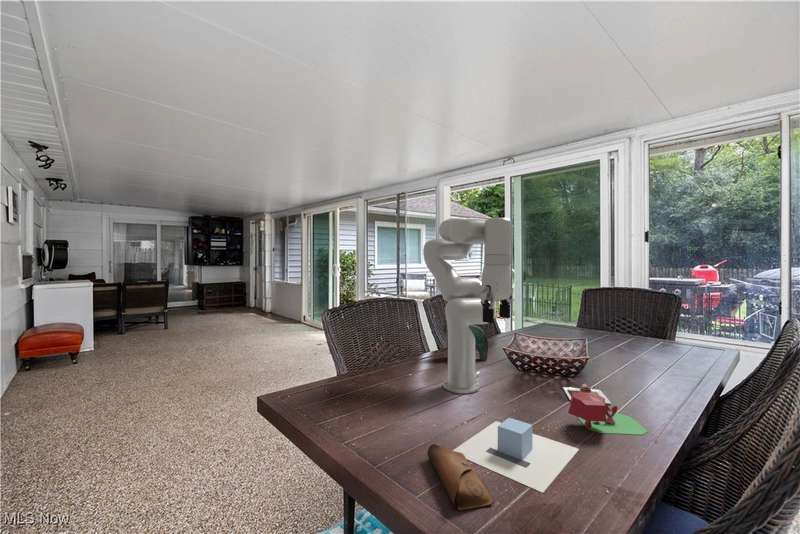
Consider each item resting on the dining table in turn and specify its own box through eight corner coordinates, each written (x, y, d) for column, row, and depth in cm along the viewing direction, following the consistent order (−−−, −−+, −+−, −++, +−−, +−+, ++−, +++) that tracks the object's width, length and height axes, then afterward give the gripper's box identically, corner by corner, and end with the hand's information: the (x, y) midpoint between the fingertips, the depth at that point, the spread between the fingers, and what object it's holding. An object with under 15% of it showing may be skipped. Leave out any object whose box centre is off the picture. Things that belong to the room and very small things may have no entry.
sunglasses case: (497, 502, 68) (480, 474, 67) (467, 526, 67) (449, 498, 66) (461, 451, 86) (447, 429, 85) (437, 470, 85) (422, 448, 84)
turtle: (556, 411, 110) (556, 382, 109) (627, 414, 107) (627, 384, 107) (574, 436, 95) (575, 401, 94) (657, 440, 93) (658, 404, 92)
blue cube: (508, 441, 92) (508, 417, 91) (532, 449, 88) (532, 424, 88) (497, 450, 87) (497, 426, 87) (522, 460, 83) (522, 434, 83)
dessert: (611, 406, 114) (611, 391, 114) (569, 403, 117) (569, 388, 117) (600, 392, 126) (600, 379, 126) (562, 390, 129) (562, 376, 128)
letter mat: (495, 421, 103) (495, 421, 103) (579, 449, 88) (579, 448, 88) (450, 452, 87) (450, 451, 87) (543, 493, 72) (543, 492, 72)
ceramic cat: (443, 359, 164) (443, 315, 164) (443, 356, 171) (443, 313, 170) (488, 361, 161) (488, 316, 160) (487, 357, 167) (487, 314, 167)
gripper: (500, 260, 114) (499, 314, 115) (469, 261, 102) (469, 322, 103) (523, 260, 109) (522, 317, 110) (494, 262, 97) (493, 326, 97)
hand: (496, 320), depth 106 cm, fingers open, 9 cm apart
